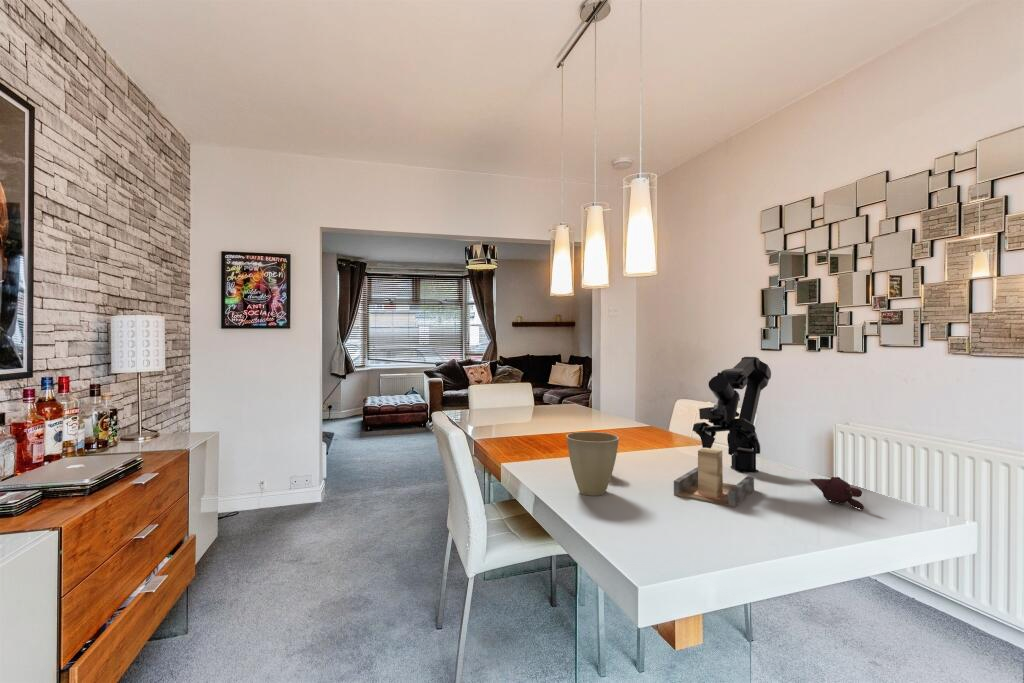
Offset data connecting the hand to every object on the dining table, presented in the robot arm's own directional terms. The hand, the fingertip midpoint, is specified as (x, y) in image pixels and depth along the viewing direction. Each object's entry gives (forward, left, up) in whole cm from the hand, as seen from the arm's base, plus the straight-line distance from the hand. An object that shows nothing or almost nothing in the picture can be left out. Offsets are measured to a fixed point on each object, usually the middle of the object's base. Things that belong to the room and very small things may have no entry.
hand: (717, 454), depth 139 cm
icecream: (-25, +15, -10) cm, 30 cm away
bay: (+3, +5, -9) cm, 11 cm away
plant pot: (+38, +3, -10) cm, 39 cm away
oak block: (+6, +8, -9) cm, 13 cm away
